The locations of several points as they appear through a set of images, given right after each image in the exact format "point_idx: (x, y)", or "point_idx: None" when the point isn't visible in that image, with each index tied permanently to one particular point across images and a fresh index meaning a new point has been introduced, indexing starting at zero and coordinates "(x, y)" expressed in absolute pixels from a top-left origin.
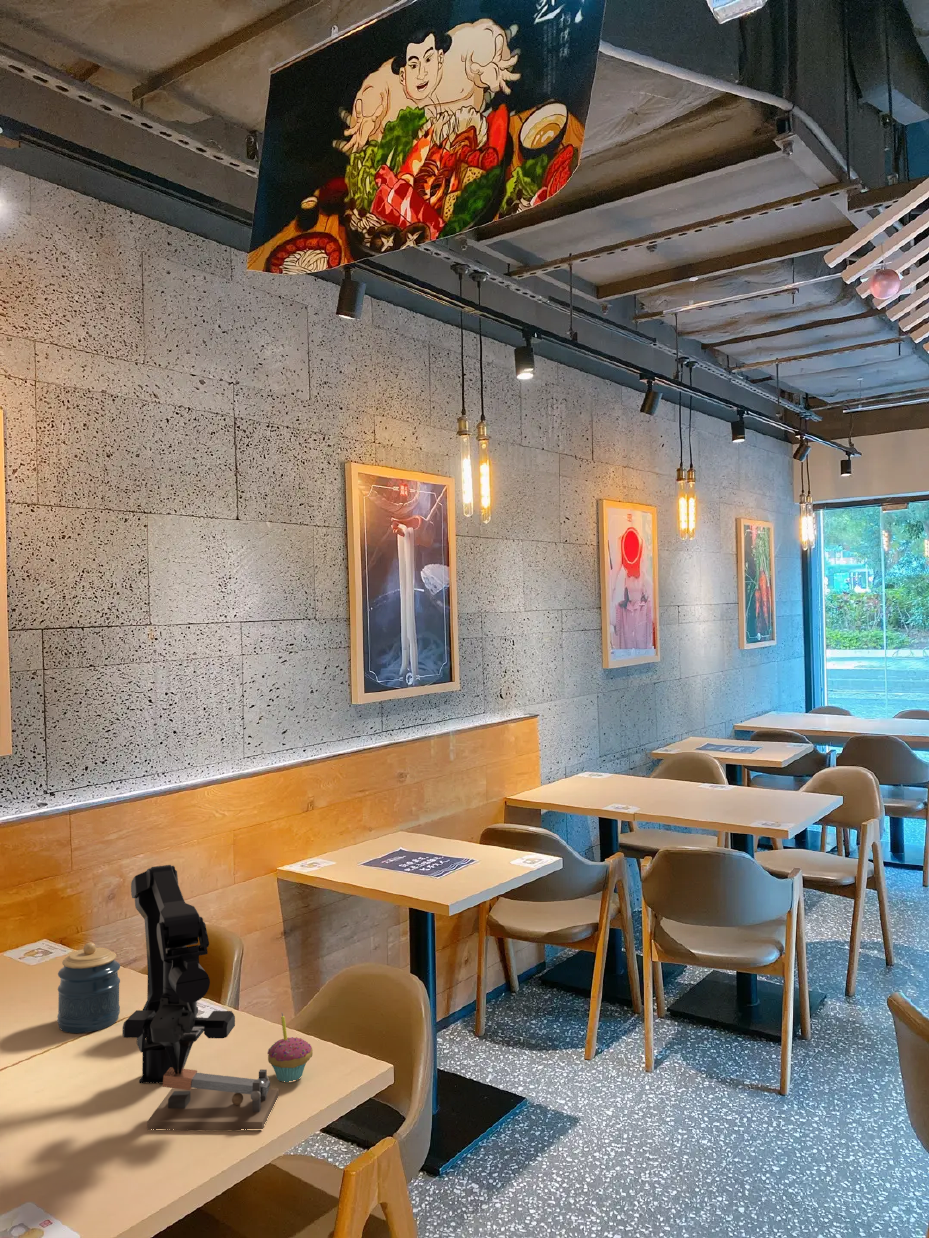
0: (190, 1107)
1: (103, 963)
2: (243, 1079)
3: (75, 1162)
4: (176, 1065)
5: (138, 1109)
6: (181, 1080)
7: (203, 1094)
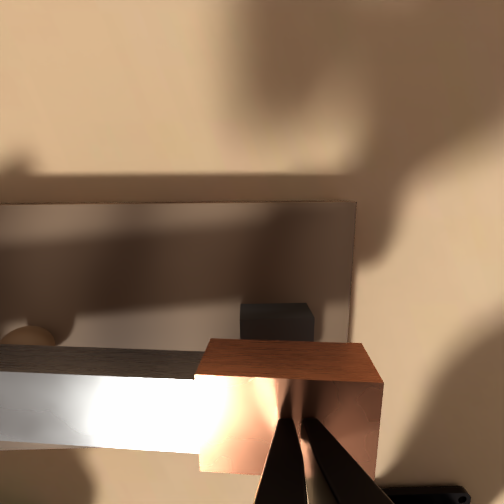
0: (220, 311)
1: None
2: None
3: None
4: (318, 457)
5: (417, 336)
6: (258, 365)
7: None
